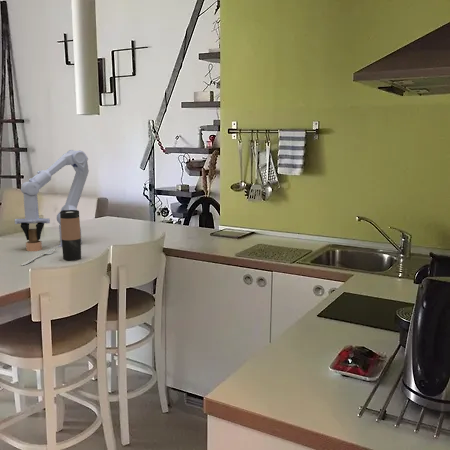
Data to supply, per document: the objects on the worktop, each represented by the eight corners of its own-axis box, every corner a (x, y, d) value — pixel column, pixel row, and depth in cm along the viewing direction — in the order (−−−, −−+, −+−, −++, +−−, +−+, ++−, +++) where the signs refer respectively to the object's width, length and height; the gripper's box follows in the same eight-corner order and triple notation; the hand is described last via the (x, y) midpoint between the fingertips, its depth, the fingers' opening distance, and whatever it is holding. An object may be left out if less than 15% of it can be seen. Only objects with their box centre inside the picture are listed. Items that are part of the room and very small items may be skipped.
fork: (18, 265, 212) (17, 261, 212) (52, 250, 235) (52, 246, 235) (25, 265, 211) (24, 261, 211) (58, 250, 234) (58, 246, 234)
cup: (43, 248, 241) (42, 240, 240) (39, 252, 235) (38, 243, 234) (29, 249, 240) (28, 240, 240) (25, 252, 234) (24, 243, 234)
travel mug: (83, 256, 226) (81, 209, 223) (79, 261, 219) (76, 212, 215) (65, 256, 226) (62, 209, 222) (60, 261, 218) (57, 212, 215)
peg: (40, 248, 240) (38, 228, 238) (37, 250, 236) (36, 230, 234) (30, 248, 239) (29, 228, 238) (28, 250, 235) (26, 230, 234)
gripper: (11, 210, 230) (13, 241, 232) (46, 210, 231) (48, 241, 233) (16, 208, 237) (18, 238, 239) (50, 207, 238) (51, 237, 240)
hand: (33, 239), depth 237 cm, fingers closed on peg, 4 cm apart
